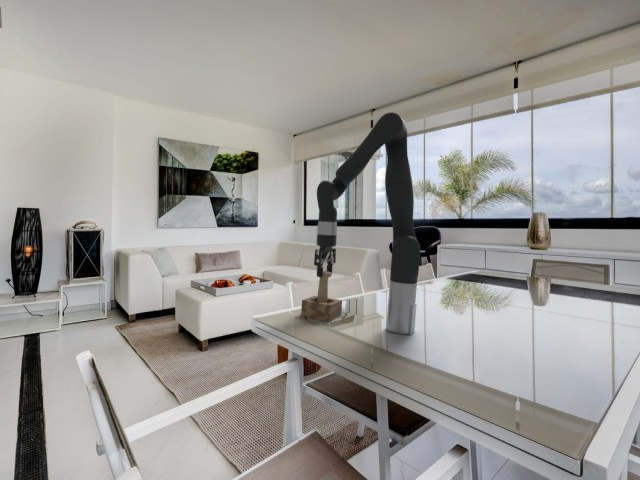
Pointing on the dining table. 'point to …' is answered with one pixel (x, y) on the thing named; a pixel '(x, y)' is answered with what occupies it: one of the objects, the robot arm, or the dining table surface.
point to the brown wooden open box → (321, 308)
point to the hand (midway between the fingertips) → (324, 275)
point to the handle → (323, 287)
